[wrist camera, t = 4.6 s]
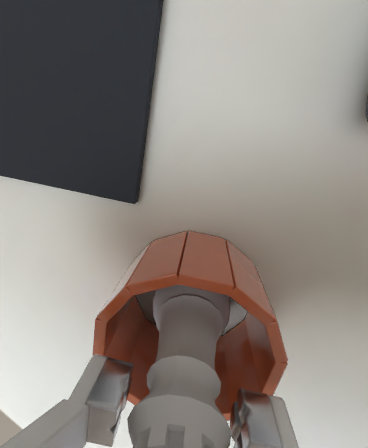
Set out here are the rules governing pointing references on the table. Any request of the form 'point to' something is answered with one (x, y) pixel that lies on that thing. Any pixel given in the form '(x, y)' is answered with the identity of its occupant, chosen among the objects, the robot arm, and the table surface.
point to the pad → (77, 92)
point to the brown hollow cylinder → (205, 280)
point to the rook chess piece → (183, 373)
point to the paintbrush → (367, 110)
